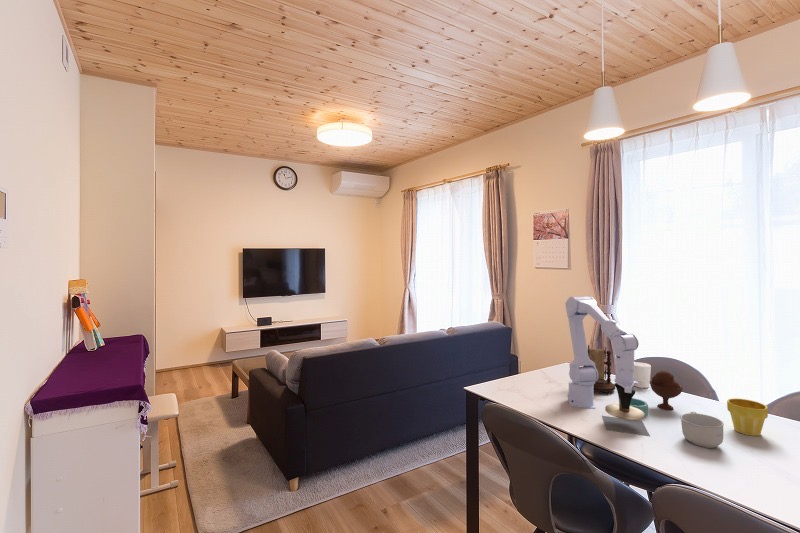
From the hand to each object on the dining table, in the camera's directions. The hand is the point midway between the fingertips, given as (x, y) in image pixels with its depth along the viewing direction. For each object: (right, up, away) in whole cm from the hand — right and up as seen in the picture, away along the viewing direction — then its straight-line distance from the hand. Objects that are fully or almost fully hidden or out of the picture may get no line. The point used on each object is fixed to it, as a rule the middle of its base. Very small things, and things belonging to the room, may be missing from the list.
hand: (624, 406), depth 136 cm
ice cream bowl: (+26, -7, +17) cm, 32 cm away
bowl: (+10, -7, +11) cm, 16 cm away
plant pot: (+39, -7, -5) cm, 40 cm away
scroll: (+10, -7, +39) cm, 41 cm away
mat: (0, -7, 0) cm, 7 cm away
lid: (0, -2, 0) cm, 2 cm away
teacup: (+18, -7, -11) cm, 23 cm away
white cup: (+33, -6, +43) cm, 55 cm away
